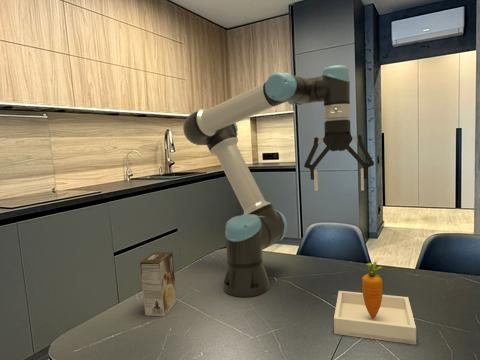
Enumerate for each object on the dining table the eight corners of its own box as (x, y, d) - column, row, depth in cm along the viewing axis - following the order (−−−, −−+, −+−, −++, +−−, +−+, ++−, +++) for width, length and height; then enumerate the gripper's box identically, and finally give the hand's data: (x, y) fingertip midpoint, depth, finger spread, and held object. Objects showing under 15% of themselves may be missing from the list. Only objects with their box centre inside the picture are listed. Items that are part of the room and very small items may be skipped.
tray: (334, 333, 85) (333, 318, 84) (339, 304, 99) (338, 290, 99) (416, 344, 78) (416, 328, 78) (408, 311, 93) (408, 297, 93)
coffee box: (158, 301, 108) (153, 251, 106) (177, 302, 107) (173, 251, 105) (144, 316, 99) (139, 261, 97) (165, 317, 98) (160, 262, 96)
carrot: (373, 311, 92) (372, 257, 90) (387, 320, 87) (386, 263, 86) (358, 315, 90) (357, 260, 89) (371, 324, 86) (370, 266, 84)
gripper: (293, 122, 104) (296, 192, 106) (382, 115, 95) (383, 191, 98) (297, 123, 111) (300, 188, 113) (381, 117, 102) (382, 188, 105)
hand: (338, 190), depth 105 cm, fingers open, 13 cm apart
